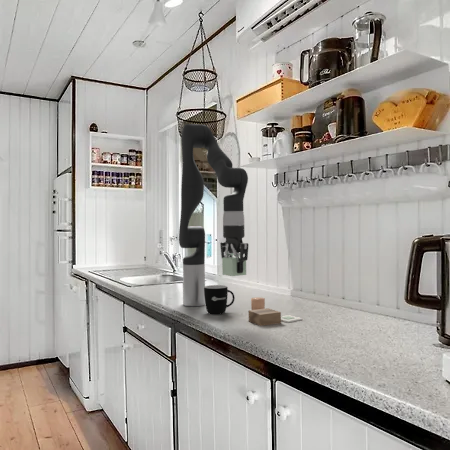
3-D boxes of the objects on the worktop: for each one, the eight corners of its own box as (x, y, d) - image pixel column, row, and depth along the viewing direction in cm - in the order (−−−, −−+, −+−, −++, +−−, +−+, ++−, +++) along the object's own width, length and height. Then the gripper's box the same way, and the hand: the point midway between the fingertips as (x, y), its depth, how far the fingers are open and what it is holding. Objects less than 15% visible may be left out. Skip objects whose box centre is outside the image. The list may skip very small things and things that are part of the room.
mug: (208, 316, 158) (208, 288, 158) (201, 312, 166) (201, 285, 166) (238, 313, 162) (238, 286, 162) (230, 309, 170) (230, 283, 170)
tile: (273, 319, 151) (273, 317, 151) (288, 316, 155) (288, 314, 155) (287, 322, 145) (287, 320, 145) (302, 319, 149) (302, 317, 149)
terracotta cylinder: (248, 314, 160) (248, 298, 160) (259, 312, 163) (258, 296, 163) (257, 316, 156) (257, 300, 156) (267, 315, 159) (267, 298, 159)
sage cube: (222, 274, 152) (222, 257, 152) (236, 273, 155) (236, 256, 155) (232, 276, 147) (232, 258, 147) (246, 274, 150) (246, 257, 150)
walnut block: (248, 322, 149) (248, 310, 149) (268, 319, 152) (268, 308, 152) (260, 326, 141) (260, 314, 141) (280, 324, 145) (280, 312, 145)
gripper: (213, 224, 155) (214, 271, 155) (237, 224, 143) (237, 274, 143) (230, 224, 159) (231, 269, 159) (254, 224, 147) (255, 273, 147)
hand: (234, 271), depth 151 cm, fingers closed on sage cube, 6 cm apart
